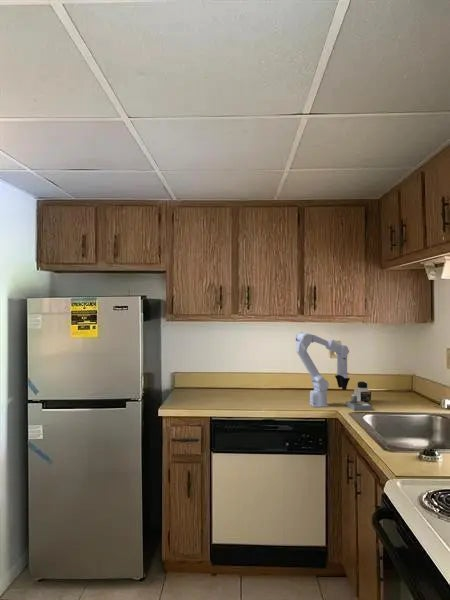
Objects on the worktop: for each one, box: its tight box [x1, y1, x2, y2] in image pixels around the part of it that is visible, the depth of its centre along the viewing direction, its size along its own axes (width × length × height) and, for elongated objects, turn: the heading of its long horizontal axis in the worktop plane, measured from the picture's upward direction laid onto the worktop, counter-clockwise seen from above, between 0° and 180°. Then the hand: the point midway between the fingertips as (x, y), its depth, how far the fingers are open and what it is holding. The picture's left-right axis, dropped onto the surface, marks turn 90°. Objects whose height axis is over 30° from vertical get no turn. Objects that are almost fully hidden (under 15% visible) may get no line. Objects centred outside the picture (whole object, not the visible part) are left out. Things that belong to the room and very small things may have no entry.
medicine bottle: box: [354, 381, 372, 404], centre depth 293 cm, size 7×7×12 cm
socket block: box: [345, 400, 373, 412], centre depth 276 cm, size 10×13×3 cm
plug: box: [350, 393, 357, 403], centre depth 279 cm, size 3×3×7 cm
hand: (342, 388), depth 286 cm, fingers open, 7 cm apart
